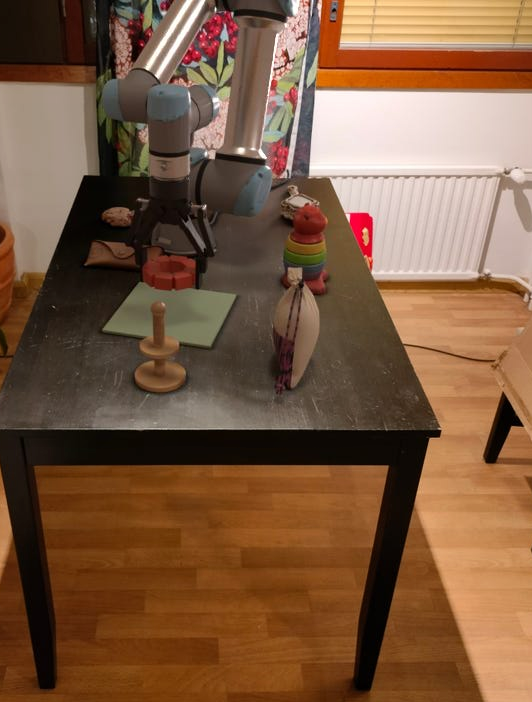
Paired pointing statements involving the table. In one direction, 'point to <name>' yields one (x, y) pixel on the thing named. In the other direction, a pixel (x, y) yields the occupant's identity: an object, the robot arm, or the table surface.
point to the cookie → (118, 216)
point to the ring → (162, 280)
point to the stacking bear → (307, 248)
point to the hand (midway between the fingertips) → (171, 283)
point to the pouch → (295, 330)
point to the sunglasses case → (118, 255)
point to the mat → (173, 314)
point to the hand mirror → (295, 202)
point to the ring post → (159, 357)
